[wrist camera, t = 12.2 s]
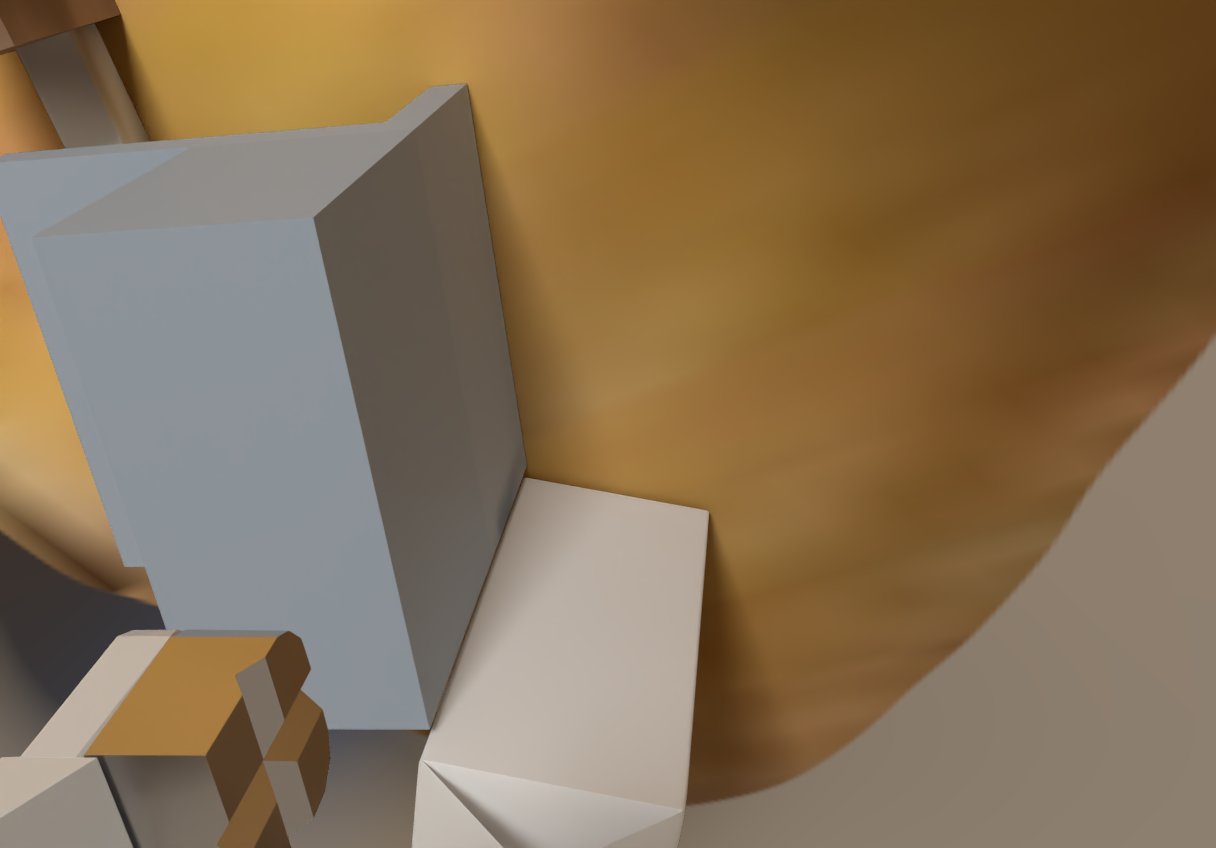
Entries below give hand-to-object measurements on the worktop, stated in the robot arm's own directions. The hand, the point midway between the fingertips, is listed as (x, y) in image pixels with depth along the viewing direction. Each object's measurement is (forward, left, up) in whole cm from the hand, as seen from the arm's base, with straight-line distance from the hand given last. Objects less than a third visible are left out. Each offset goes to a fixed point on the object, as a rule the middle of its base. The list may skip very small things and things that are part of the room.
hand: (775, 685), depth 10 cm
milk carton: (+19, -7, -29) cm, 35 cm away
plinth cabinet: (+7, -16, -29) cm, 34 cm away
